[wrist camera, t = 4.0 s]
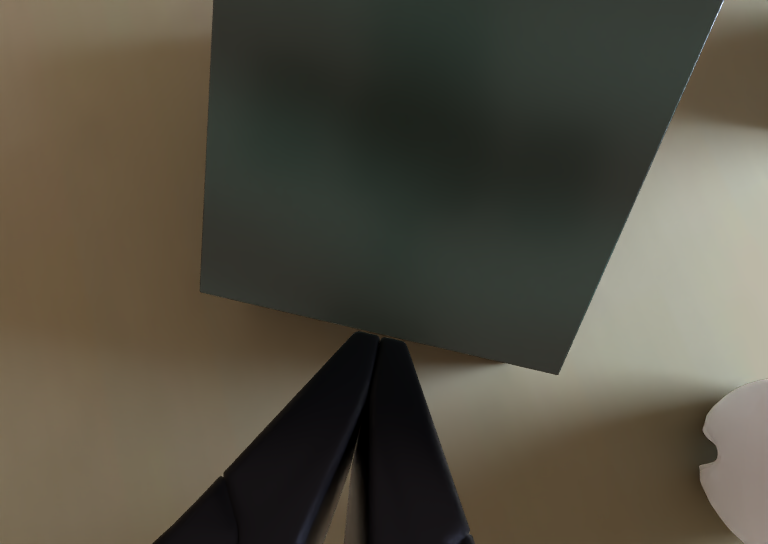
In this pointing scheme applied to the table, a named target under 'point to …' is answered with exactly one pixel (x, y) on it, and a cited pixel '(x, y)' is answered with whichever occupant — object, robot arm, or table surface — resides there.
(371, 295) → the cover
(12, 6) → the table surface
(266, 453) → the robot arm
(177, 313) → the table surface
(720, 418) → the water bottle
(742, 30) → the table surface
